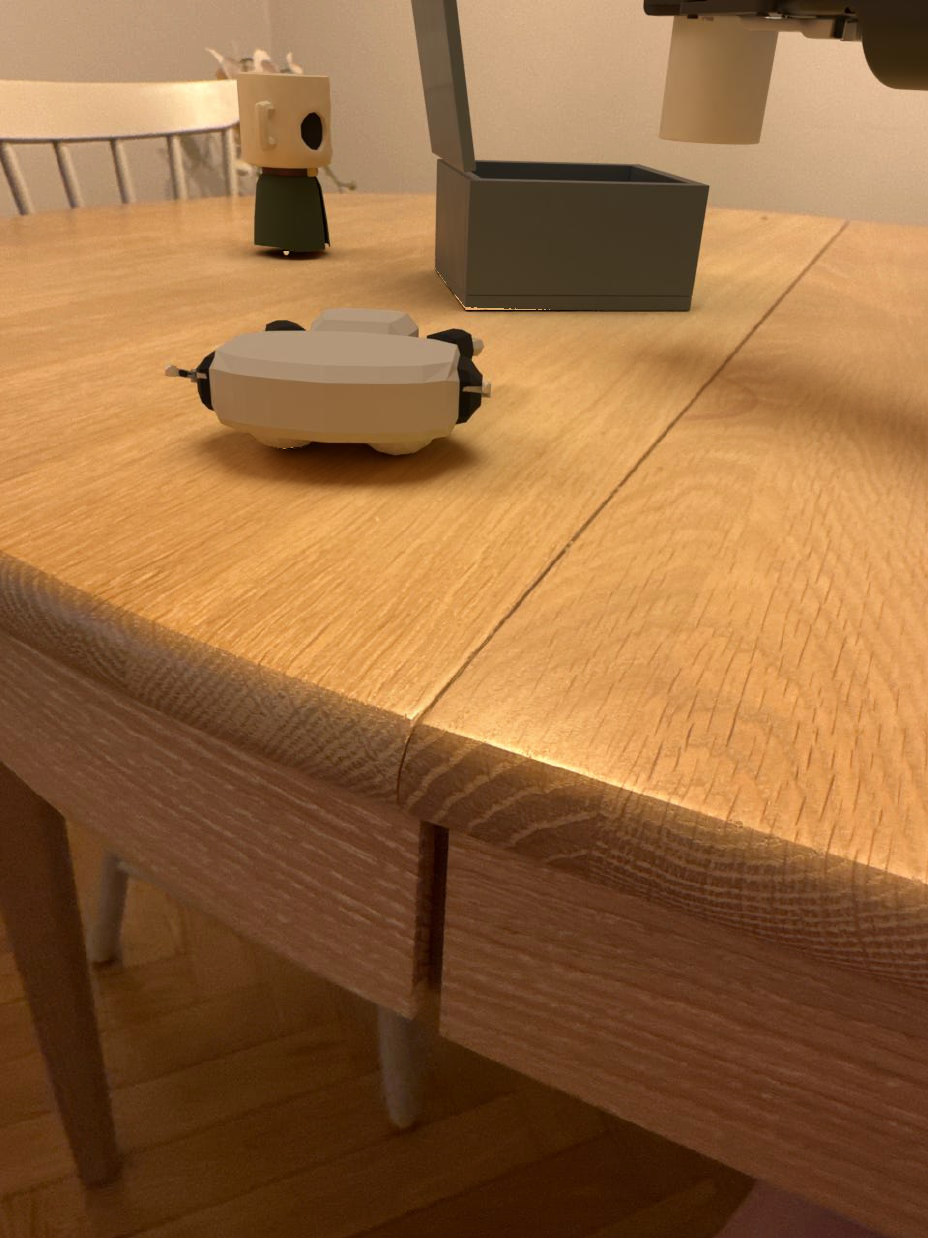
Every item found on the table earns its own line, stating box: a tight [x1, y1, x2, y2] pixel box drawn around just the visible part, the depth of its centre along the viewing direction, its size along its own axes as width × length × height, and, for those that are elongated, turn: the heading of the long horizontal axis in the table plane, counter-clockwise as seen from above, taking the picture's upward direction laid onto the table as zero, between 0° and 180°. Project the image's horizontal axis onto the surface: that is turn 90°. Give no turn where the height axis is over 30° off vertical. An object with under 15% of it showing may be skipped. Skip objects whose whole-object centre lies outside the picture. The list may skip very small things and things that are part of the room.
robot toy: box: [164, 307, 492, 456], centre depth 42 cm, size 12×4×15 cm
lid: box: [410, 0, 476, 172], centre depth 60 cm, size 17×14×1 cm
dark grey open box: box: [434, 158, 710, 312], centre depth 68 cm, size 16×14×8 cm
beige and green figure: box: [235, 71, 334, 253], centre depth 75 cm, size 11×7×13 cm, turn 168°
